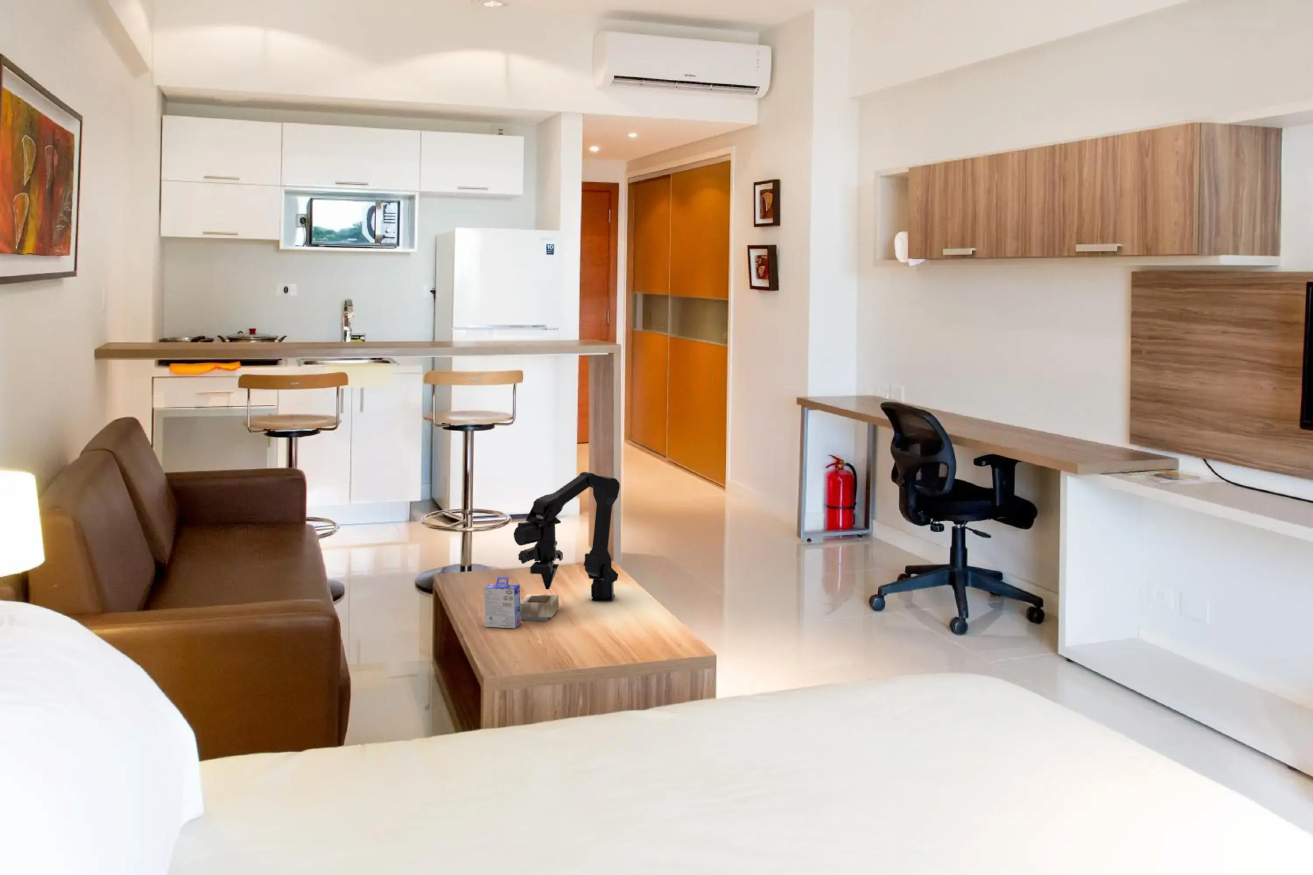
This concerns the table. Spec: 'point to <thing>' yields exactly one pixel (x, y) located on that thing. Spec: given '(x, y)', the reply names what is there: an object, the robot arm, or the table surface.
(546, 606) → the wooden block
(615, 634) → the table surface
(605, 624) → the table surface
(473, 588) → the table surface
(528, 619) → the mat
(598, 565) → the robot arm
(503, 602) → the ink cartridge box
